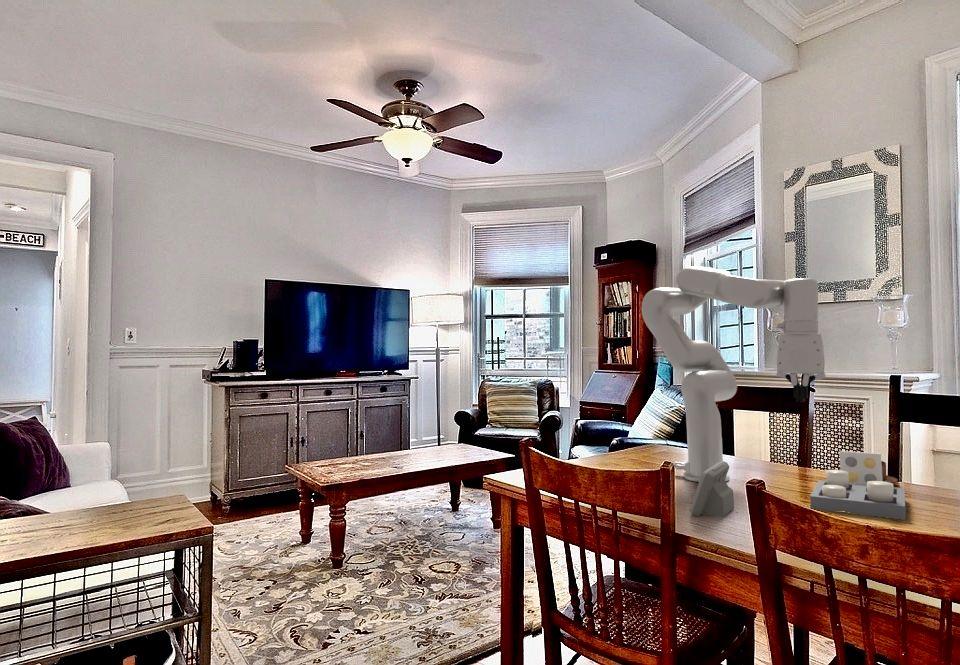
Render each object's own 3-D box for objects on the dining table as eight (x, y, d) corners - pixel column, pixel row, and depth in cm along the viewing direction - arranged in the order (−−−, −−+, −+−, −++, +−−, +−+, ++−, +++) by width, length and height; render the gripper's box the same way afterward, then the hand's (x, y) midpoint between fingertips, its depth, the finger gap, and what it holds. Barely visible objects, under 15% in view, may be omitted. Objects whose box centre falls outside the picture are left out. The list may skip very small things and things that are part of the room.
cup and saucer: (907, 490, 149) (906, 466, 149) (855, 489, 151) (854, 466, 151) (884, 479, 160) (883, 457, 160) (837, 479, 163) (836, 457, 163)
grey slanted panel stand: (711, 500, 146) (709, 458, 146) (746, 507, 139) (744, 462, 139) (677, 514, 135) (675, 468, 135) (714, 522, 128) (711, 474, 129)
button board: (810, 508, 135) (810, 496, 135) (819, 491, 150) (818, 480, 150) (905, 520, 124) (905, 506, 125) (905, 500, 139) (904, 488, 139)
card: (838, 490, 150) (836, 452, 150) (839, 488, 153) (837, 450, 153) (885, 495, 144) (883, 455, 144) (885, 492, 147) (883, 453, 147)
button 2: (825, 486, 143) (824, 472, 143) (827, 482, 147) (826, 469, 147) (848, 489, 140) (847, 474, 140) (849, 484, 144) (848, 470, 144)
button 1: (821, 503, 136) (821, 488, 136) (823, 498, 139) (823, 484, 140) (845, 505, 133) (844, 490, 133) (847, 501, 137) (846, 486, 137)
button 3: (867, 500, 130) (866, 484, 130) (868, 495, 134) (867, 480, 134) (893, 502, 127) (892, 486, 128) (893, 497, 131) (892, 482, 131)
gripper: (764, 328, 145) (764, 400, 145) (834, 328, 136) (833, 405, 136) (770, 328, 151) (770, 397, 151) (837, 328, 142) (836, 401, 142)
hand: (800, 401), depth 144 cm, fingers closed
